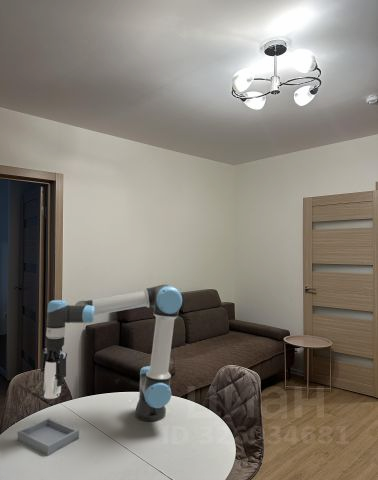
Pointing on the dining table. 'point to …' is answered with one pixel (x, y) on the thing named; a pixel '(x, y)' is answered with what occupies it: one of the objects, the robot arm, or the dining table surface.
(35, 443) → the tray
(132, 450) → the dining table surface
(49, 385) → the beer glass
